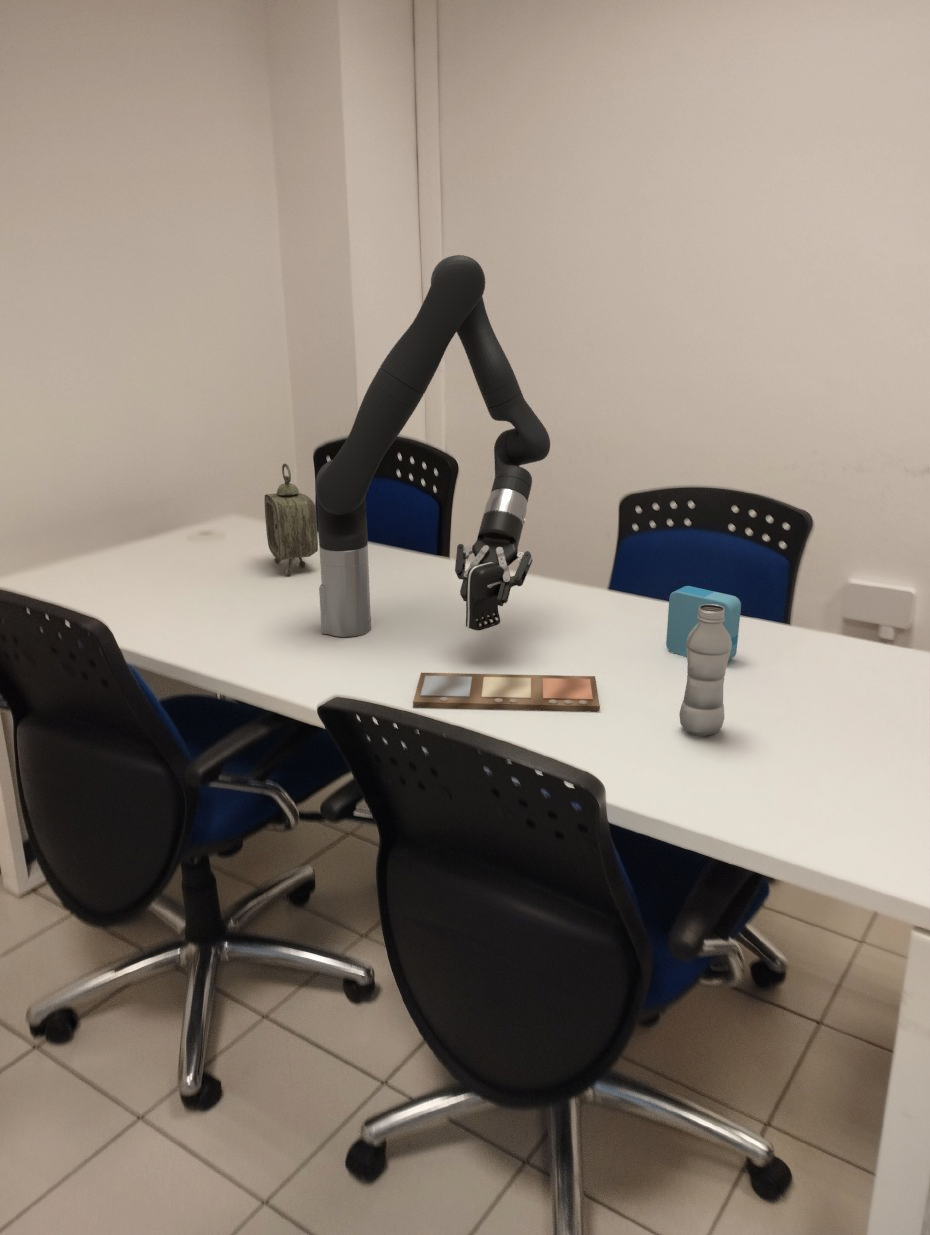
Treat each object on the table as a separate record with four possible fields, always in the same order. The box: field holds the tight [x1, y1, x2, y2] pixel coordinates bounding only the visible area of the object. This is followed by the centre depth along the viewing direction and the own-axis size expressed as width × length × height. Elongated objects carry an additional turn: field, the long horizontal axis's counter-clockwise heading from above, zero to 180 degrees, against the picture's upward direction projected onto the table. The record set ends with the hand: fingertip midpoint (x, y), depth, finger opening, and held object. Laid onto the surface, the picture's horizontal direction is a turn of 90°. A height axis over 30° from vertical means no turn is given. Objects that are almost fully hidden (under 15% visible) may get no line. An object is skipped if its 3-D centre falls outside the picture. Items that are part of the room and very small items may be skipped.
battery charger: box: [465, 562, 504, 631], centre depth 170 cm, size 7×4×11 cm, turn 134°
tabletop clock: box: [264, 463, 319, 577], centre depth 224 cm, size 14×9×25 cm, turn 23°
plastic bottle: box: [679, 604, 732, 736], centre depth 144 cm, size 6×7×20 cm
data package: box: [665, 585, 742, 661], centre depth 174 cm, size 12×4×12 cm, turn 49°
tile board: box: [412, 672, 601, 713], centre depth 160 cm, size 30×12×1 cm, turn 86°
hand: (482, 601), depth 168 cm, fingers closed on battery charger, 5 cm apart
